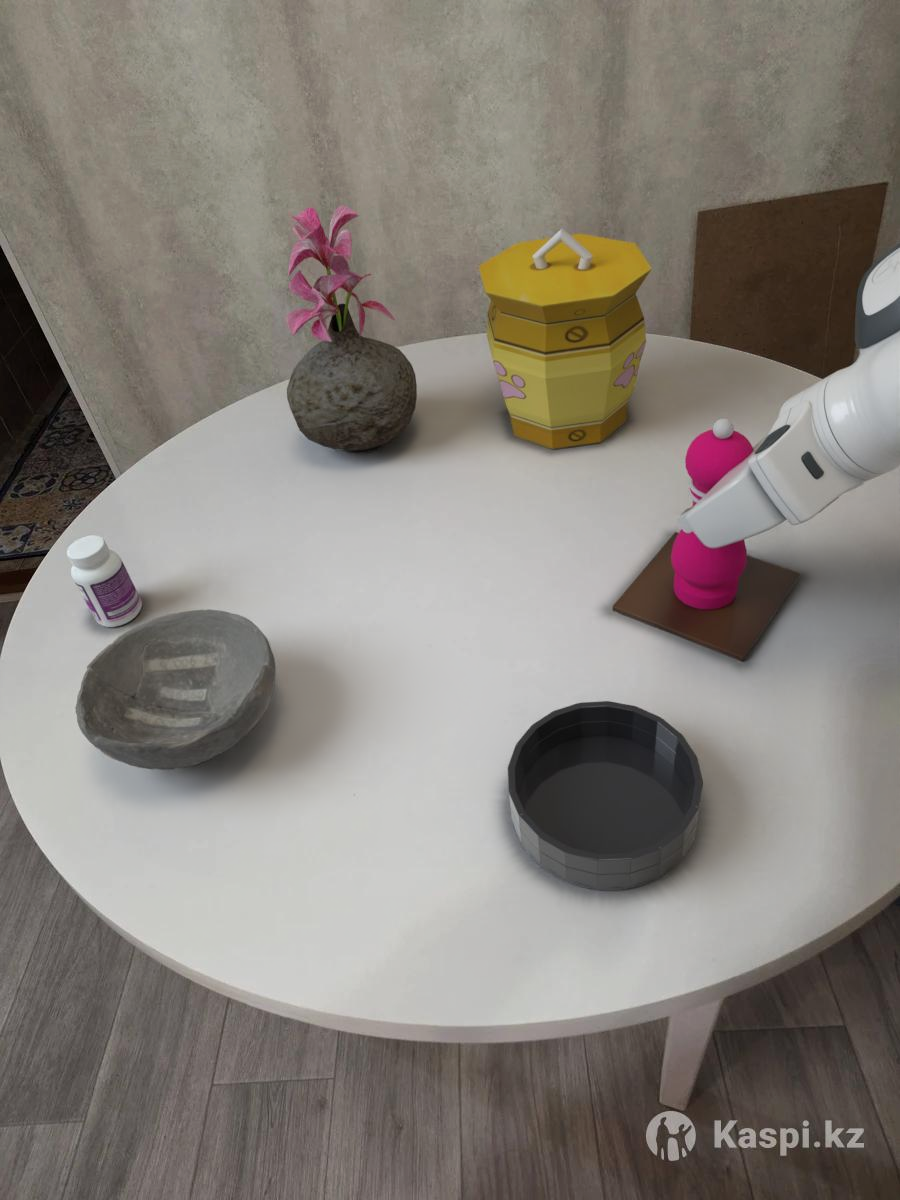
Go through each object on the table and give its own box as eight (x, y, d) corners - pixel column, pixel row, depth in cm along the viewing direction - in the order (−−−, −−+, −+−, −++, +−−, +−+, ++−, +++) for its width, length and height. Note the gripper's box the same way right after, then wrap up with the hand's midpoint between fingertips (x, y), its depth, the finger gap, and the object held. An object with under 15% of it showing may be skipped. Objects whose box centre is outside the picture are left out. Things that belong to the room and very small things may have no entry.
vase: (285, 471, 115) (219, 244, 95) (328, 403, 127) (278, 189, 107) (405, 476, 111) (362, 240, 91) (438, 406, 123) (407, 184, 103)
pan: (728, 783, 72) (734, 750, 69) (641, 927, 64) (643, 897, 61) (572, 709, 80) (571, 676, 77) (476, 829, 72) (470, 798, 69)
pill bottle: (149, 595, 99) (118, 529, 93) (134, 627, 95) (100, 561, 89) (105, 597, 100) (71, 531, 93) (88, 629, 96) (51, 563, 90)
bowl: (298, 650, 90) (280, 593, 84) (279, 792, 77) (256, 736, 71) (130, 667, 91) (101, 612, 85) (83, 811, 78) (45, 757, 72)
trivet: (799, 577, 89) (800, 572, 89) (743, 662, 82) (743, 657, 81) (674, 535, 96) (675, 531, 96) (612, 610, 89) (612, 606, 89)
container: (511, 374, 128) (498, 197, 111) (656, 382, 121) (666, 196, 104) (469, 453, 113) (447, 264, 96) (631, 467, 107) (638, 267, 90)
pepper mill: (731, 563, 91) (754, 394, 78) (750, 610, 86) (779, 437, 72) (662, 570, 92) (673, 403, 78) (676, 617, 86) (691, 446, 73)
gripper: (862, 351, 75) (743, 420, 86) (751, 464, 64) (632, 525, 76) (903, 410, 75) (779, 471, 87) (799, 532, 65) (674, 582, 77)
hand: (709, 497), depth 81 cm, fingers open, 8 cm apart
